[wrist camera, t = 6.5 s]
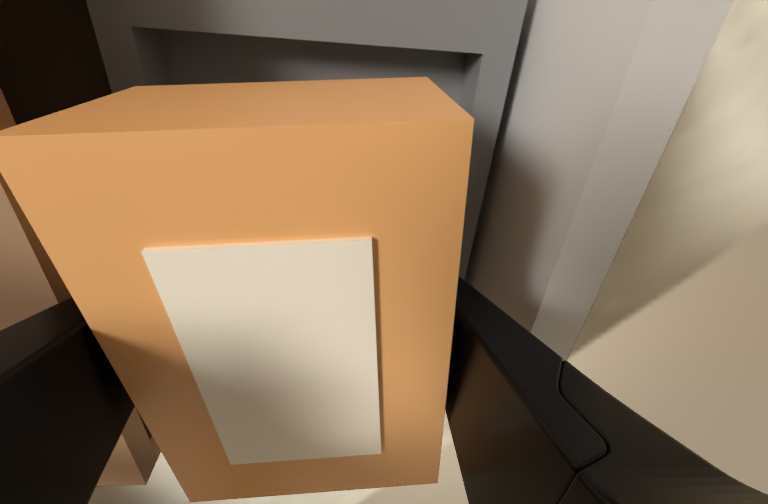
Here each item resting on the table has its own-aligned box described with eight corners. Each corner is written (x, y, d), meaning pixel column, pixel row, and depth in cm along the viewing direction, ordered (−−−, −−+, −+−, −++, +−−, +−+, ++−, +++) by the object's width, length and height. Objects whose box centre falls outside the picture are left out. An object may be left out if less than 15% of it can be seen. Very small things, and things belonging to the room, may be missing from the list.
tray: (464, 341, 18) (510, 481, 12) (215, 339, 17) (149, 491, 11) (569, -78, 10) (818, -182, 5) (112, -129, 9) (-250, -339, 4)
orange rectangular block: (416, 363, 12) (438, 487, 9) (233, 375, 11) (189, 506, 8) (426, 76, 7) (476, 121, 4) (135, 86, 7) (-28, 139, 4)
